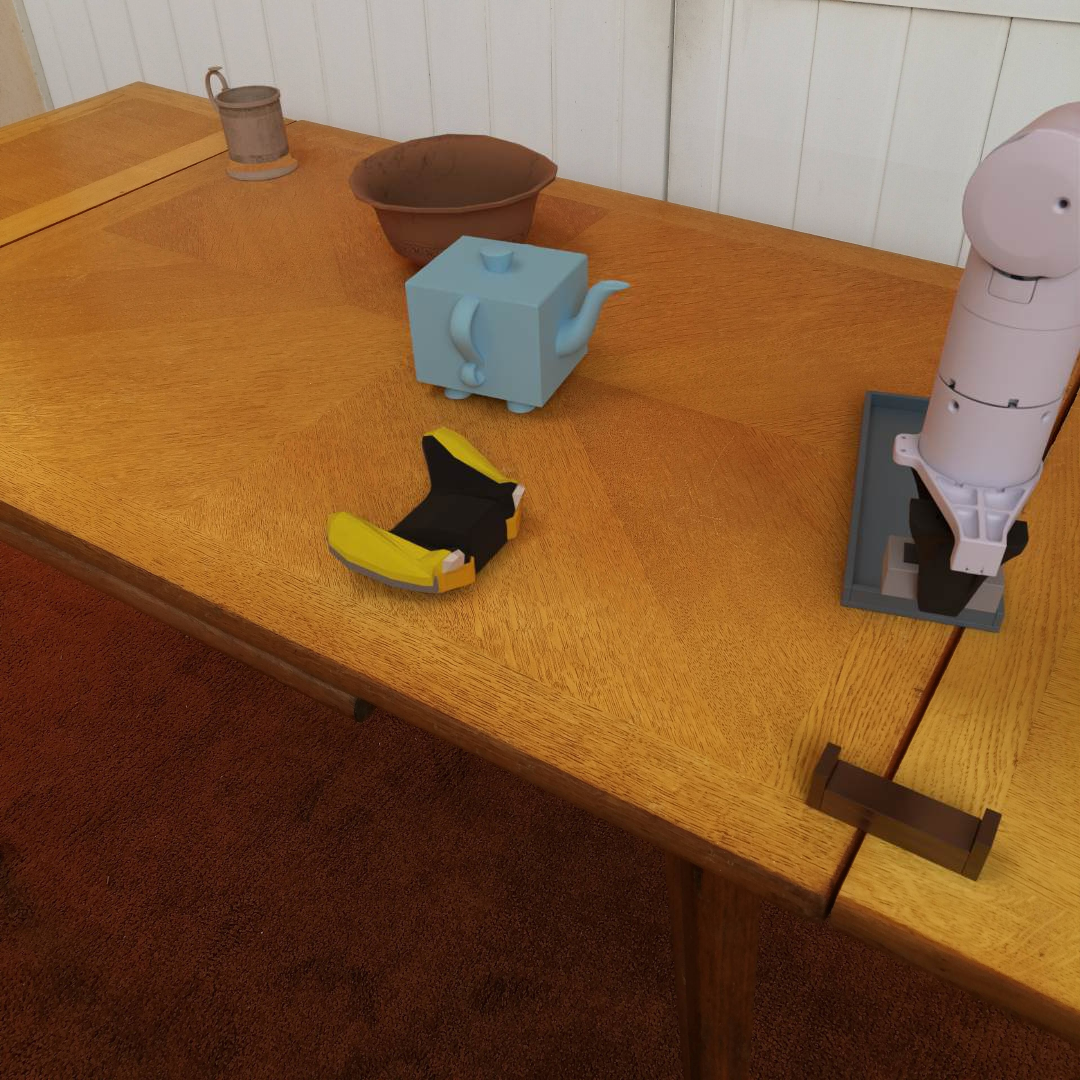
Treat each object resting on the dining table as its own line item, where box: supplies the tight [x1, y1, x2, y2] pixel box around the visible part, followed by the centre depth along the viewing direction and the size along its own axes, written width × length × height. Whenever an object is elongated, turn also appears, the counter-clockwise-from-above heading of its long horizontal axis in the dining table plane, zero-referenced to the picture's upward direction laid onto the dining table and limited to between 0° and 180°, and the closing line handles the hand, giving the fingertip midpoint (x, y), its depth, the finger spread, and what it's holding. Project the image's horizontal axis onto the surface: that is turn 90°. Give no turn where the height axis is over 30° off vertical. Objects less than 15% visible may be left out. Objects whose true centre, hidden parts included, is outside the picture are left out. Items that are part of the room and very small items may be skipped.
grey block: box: [881, 535, 1006, 613], centre depth 55 cm, size 6×3×2 cm, turn 73°
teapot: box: [404, 236, 631, 414], centre depth 87 cm, size 18×16×13 cm
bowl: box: [347, 133, 559, 270], centre depth 108 cm, size 22×22×11 cm
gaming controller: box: [326, 426, 526, 595], centre depth 72 cm, size 15×6×10 cm
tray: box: [840, 389, 1006, 634], centre depth 75 cm, size 10×26×2 cm, turn 163°
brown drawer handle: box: [805, 741, 1003, 882], centre depth 53 cm, size 9×2×3 cm, turn 58°
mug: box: [204, 66, 300, 182], centre depth 136 cm, size 14×10×12 cm
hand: (937, 588), depth 56 cm, fingers closed on grey block, 3 cm apart
